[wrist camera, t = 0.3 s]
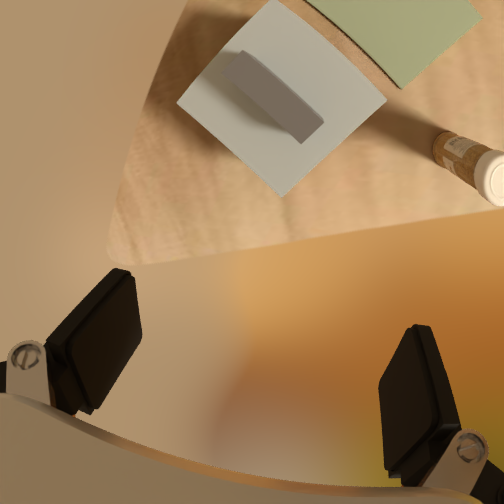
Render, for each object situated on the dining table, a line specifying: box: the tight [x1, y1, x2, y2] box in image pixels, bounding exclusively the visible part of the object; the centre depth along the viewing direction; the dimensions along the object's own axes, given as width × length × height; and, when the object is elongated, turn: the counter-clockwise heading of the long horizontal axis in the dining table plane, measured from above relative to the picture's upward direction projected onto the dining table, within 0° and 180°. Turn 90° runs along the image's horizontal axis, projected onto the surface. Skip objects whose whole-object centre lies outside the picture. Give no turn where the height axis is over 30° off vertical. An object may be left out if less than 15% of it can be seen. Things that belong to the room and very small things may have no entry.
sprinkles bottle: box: [433, 132, 504, 206], centre depth 25 cm, size 5×5×14 cm
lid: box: [177, 0, 387, 198], centre depth 24 cm, size 13×13×6 cm
